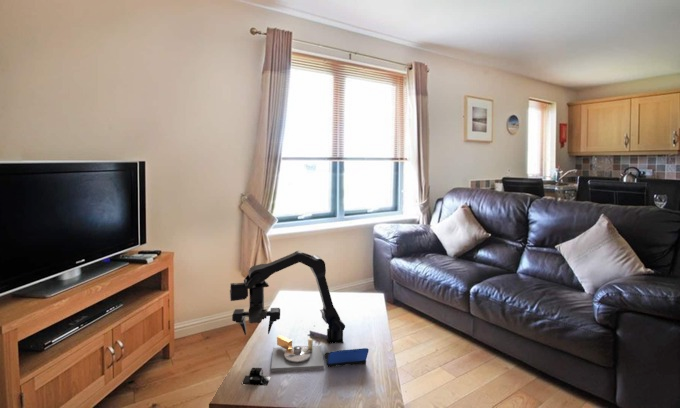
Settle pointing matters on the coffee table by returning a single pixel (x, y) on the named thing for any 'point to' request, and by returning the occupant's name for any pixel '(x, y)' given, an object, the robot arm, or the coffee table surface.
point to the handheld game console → (346, 357)
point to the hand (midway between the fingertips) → (257, 334)
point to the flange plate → (293, 350)
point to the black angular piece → (256, 377)
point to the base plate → (311, 364)
